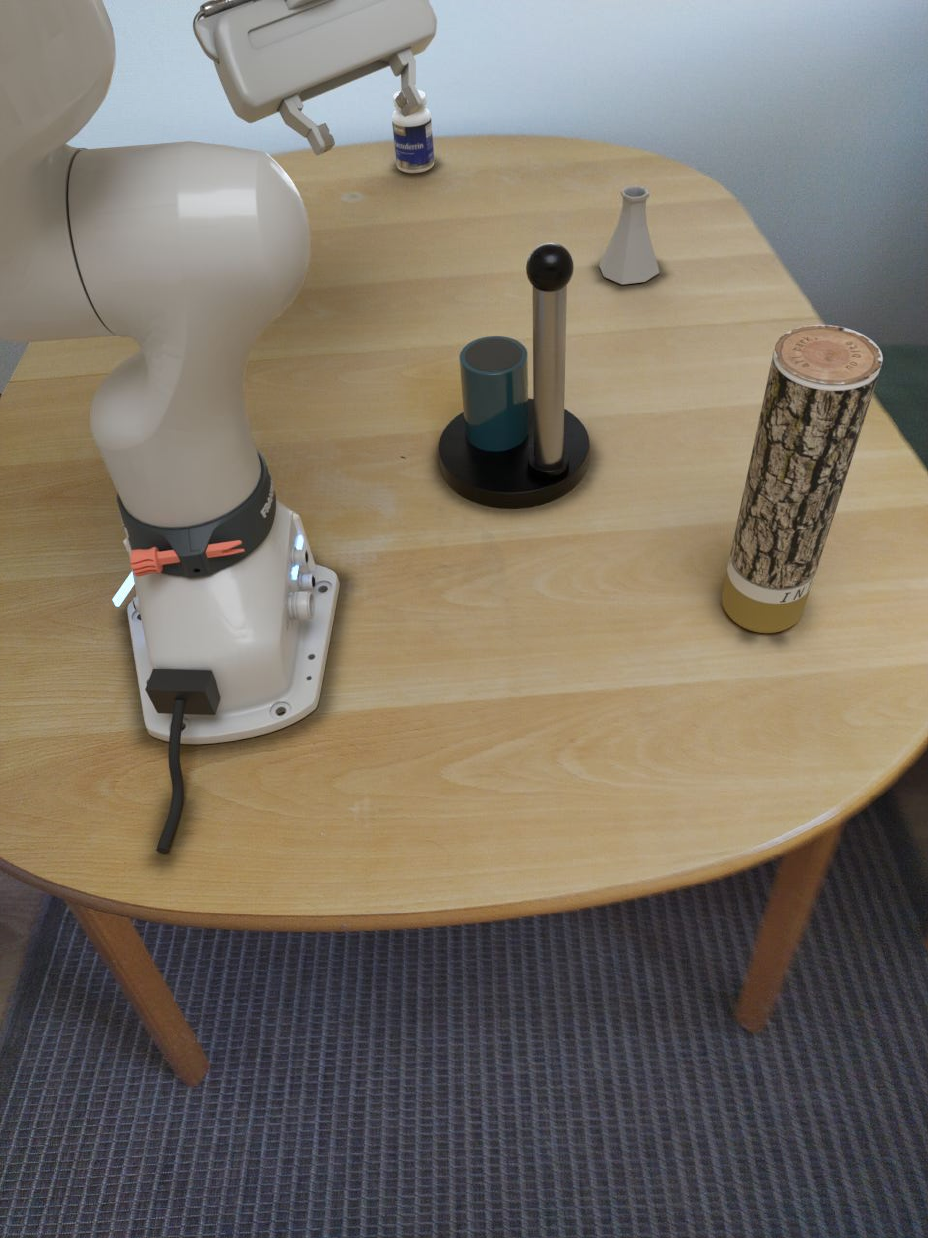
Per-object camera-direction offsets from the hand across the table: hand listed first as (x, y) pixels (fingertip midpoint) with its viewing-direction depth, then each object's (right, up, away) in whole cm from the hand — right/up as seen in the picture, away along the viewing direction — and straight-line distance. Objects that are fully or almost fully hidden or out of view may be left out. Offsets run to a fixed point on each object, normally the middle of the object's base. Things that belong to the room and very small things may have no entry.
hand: (371, 130), depth 83 cm
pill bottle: (+1, +24, +58) cm, 63 cm away
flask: (+29, 0, +35) cm, 45 cm away
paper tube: (+34, -42, -3) cm, 54 cm away
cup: (+12, -24, +12) cm, 29 cm away
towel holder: (+13, -27, +12) cm, 32 cm away
